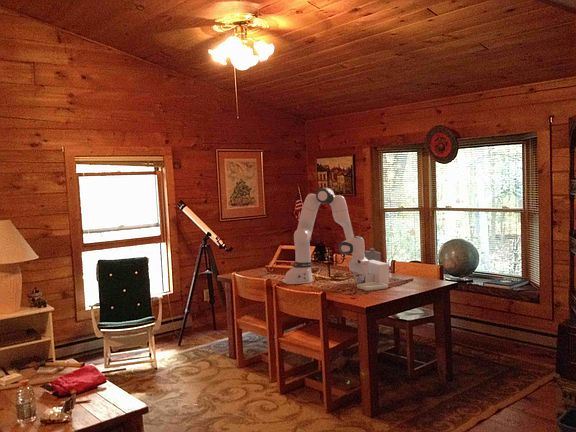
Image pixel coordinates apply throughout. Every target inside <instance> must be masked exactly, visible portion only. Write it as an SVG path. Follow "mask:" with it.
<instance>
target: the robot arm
mask: <svg viewBox="0 0 576 432" xmlns="http://www.w3.org/2000/svg"><path fill="white" fill-rule="evenodd" d="M321 204H324V205H325V204H326V205H330V207H331V211H332V212H331V213H332V217H333V220H334V222H335V223H337V224H339V226H341V227H342V229H343V233H344V236H345V240H343V241H341V242H340V243H339V245H338V251H339V252H340V253H341V255H345V256H346V255H351V258H350V261H349V263H348V265H349V266H348V267H349V269H348V270H349V271H350V272H352V275H353V279H355V277H358V275H357V274H362V278H361V280H362V281H363V280H364V277H365V275H368V273H369V265H368V263H369V260H368V259H367V258H366V257H365V253H364V251H366V250H365V249H366V248H365V247H366V246H365V245H366V244H365V240H364V238H363V237H362V236H358V235H355V234H354V233H355V232H354V230H353V229H354V228H353V225H352V221H351V219H350V215H349V210H348V204H347V201H346V198H345V197H344V196H343V195H340V194H339V195H337V194H336V193H335V191H334V189H332V188H330V187H323V188H319V189H318V190H317V192H316V193H308V194H307V196H306V197H305V199H304V202H303V204H302V208H301V211H300V216H299V220H298V224H297V229H296V230H295V231H294V233H293V242H294V251H295V252H294V253H295V258H294V259H295V261H294V262H293V261H291V262H290V265H291V266H292V267H291V268H290V269H289V270H288V271H287V272H286V273H285V275H284V276H285V277H284V279H282V281H281V282H282V283H284V284H286V285H298V284H299V285H301V284H311V282H313V281H314V278H313V275H312V260H311V259H312V258H311V257H312V255H311V254H312V252H311V244H310V242H311V240H310V239H311V237H312V233H313V230H314V226H315V222H316V221H315V220H316V218H317V213H318V211H319V208H320V205H321Z"/></svg>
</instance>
